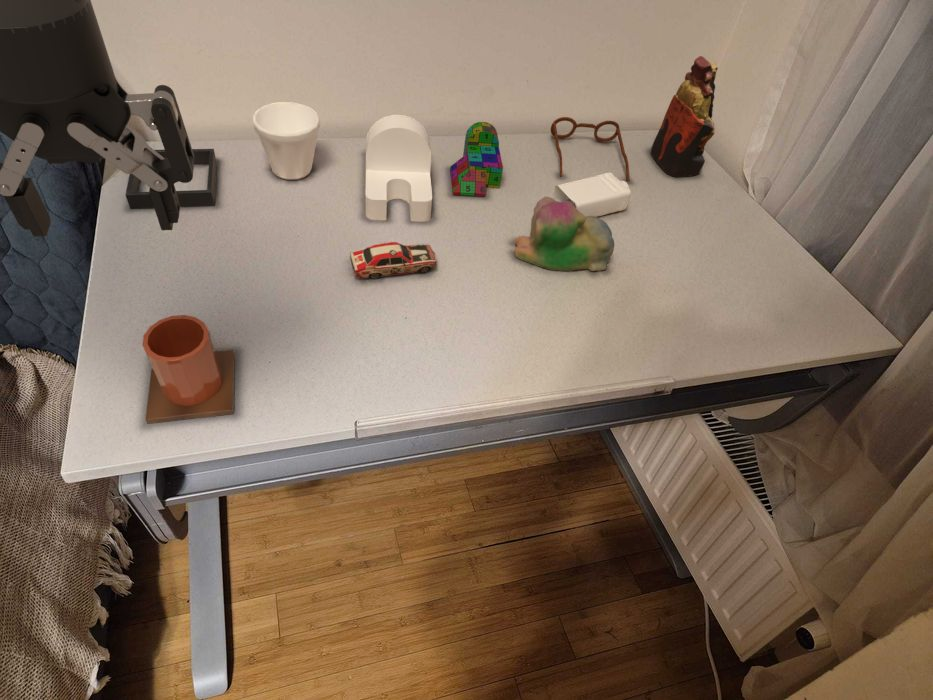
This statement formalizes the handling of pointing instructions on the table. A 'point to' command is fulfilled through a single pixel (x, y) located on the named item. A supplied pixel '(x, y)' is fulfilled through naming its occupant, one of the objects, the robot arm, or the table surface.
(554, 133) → the glasses
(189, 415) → the walnut board
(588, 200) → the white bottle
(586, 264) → the sculpture
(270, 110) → the cup
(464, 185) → the multicoloured toy chair
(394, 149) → the bracket
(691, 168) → the statue
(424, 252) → the race car
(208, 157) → the dark grey square frame
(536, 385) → the table surface
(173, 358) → the terracotta cup
